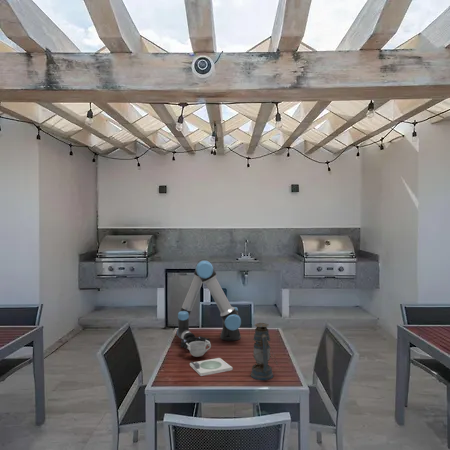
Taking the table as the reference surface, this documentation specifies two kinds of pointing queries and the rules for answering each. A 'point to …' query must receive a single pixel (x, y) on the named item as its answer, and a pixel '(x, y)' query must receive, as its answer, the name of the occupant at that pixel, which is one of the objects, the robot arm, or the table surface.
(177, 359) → the table surface
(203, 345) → the teacup
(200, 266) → the robot arm
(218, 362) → the record player
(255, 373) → the lantern
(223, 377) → the table surface
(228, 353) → the table surface
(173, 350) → the table surface
